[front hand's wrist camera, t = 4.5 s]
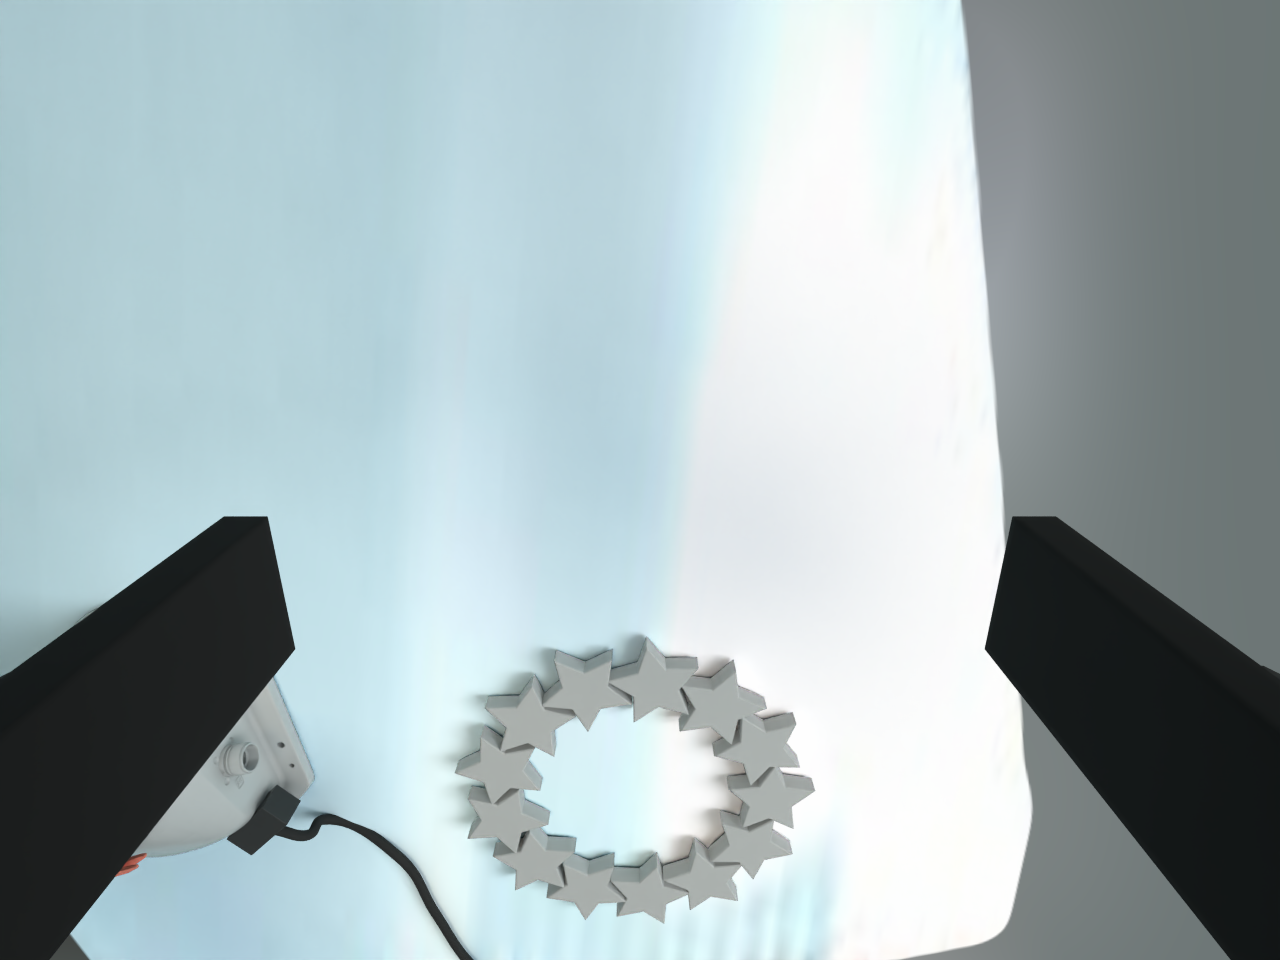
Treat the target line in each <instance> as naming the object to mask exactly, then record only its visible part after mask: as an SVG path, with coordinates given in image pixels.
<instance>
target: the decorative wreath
mask: <svg viewBox="0 0 1280 960" xmlns="http://www.w3.org/2000/svg"><path fill="white" fill-rule="evenodd" d="M612 653H613V649H611V650H609V651H607V652H605V653H602V654H600V655H598V656H596V657H594V658H592V659H590V660H588V661H586V662H585V661H582V660H580V659H577V658H575V657H573V656H570V655H568V654H565V653H563V652H560V651H558V650H556V654H555V659H554V662H555V666H556V669H557V673H558V676H559V681H558V682H556V683H555V684H554V685H553V686H552V687H551V688H550V689H549V690H548V691H546V692H545V693H544V692H543V689H542V687H541V685H540V683H539V681H538V679H537V677H536V675H535V674H534V676H533V677H532V678H531V680H530V681H529V683H528V684H527V685H526V687H525V688H524V689H523V691H522V692H521V694H520V695H519V696H488V699H487V702H486V705H485V709H486V710H487V711H488V712H489V713H491V714H492V715H493V716H494V717H495V718H496V719H497V720H498V721H499V722H500V723H501V724H502V725H504V726H505V727H506V730H505V733H504V737H501V736H500V735H498V734H497V733H496V732H494V731H493V730H491V729H490V728H488V727H487V726H485V725H484V727H483V730H482V733H481V737H480V751H478V752H476V753H474V754H471V755H469V756H467V757H465V758H463V759H461V760H459V762H458V765H457V768H456V771H455V773H456V774H459V775H462V776H465V777H468V778H471V779H474V780H477V781H480V782H484V785H485V788H486V789H485V788H480V787H475V786H471V790H470V793H469V796H468V800H469V802H470V803H471V805H472V806H473V808H474V809H475V811H476V813H477V814H478V817H477V818H476V819H475V821H474V822H473V823H472V825H471V828H470V831H469V835H468V839H471V838H488V837H497V838H498V839H499V840H501V842H496V845H495V849H494V853H493V857H494V858H496V859H498V860H500V861H501V862H503V863H505V864H506V865H508V866H510V867H512V868H513V869H515V870H516V883H515V890H517V889H519V888H522V887H524V886H526V885H528V884H530V883H532V882H534V881H537V880H540V881H544V882H547V883H548V891H547V898H550V899H556V900H563V901H569V902H574V903H575V904H576V906H577V908H578V909H579V911H580V912H581V914H582V916H583V917H584V919H585V920H586V919H587V918H588V916H589V915H590V914H591V913H592V911H593V910H594V909H595V907H596V906H597V905H598V904H599V903H616V902H617V916H623V915H628V914H633V913H638V912H643V911H644V912H645V913H647V914H649V915H650V916H652V917H654V918H655V919H657V920H659V921H660V922H662V923H664V921H665V910H666V904H668V903H670V902H672V901H674V900H677V899H679V898H681V897H683V896H686V895H688V897H689V906H690V910H691V909H693V908H694V907H696V906H697V905H699V904H700V903H702V902H703V901H705V900H706V899H708V898H709V897H716V898H723V899H729V900H735V901H738V897H737V890H736V886H735V884H734V882H733V880H732V879H731V877H732V876H733V875H734V874H735V873H736V872H737V870H738V869H739V868H740V867H741V866H742V867H743V868H744V869H745V870H746V871H747V873H748V874H749V875H750V876H751V877H752V879H754V877H755V875H756V874H757V872H758V870H759V868H760V867H761V865H762V863H763V861H764V860H766V859H771V858H776V857H781V856H786V855H791V854H792V849H791V845H790V841H789V840H788V839H786V838H785V837H783V836H782V835H780V834H778V833H777V832H775V831H773V823H774V821H776V822H779V823H781V824H783V825H786V826H788V827H790V828H793V816H792V806H793V805H795V804H796V803H798V802H799V801H801V800H802V799H804V798H805V797H807V796H808V795H810V794H811V793H813V792H814V791H815V789H814V786H813V782H812V779H811V778H808V777H800V776H793V775H785V774H782V772H781V770H780V768H779V767H800V766H799V762H798V759H797V755H796V754H795V753H794V751H793V750H792V749H791V748H790V746H789V745H788V744H787V741H788V739H789V737H790V735H791V733H792V731H793V729H794V728H795V726H796V721H795V718H794V715H793V712H791V713H787V714H784V715H780V716H776V717H772V718H768V719H764V720H762V719H761V718H759V717H758V716H756V715H755V714H754V713H757V712H759V711H762V710H764V709H767V707H766V703H765V700H764V697H763V696H761V695H758V694H756V693H754V692H751V691H749V690H746V689H744V688H742V687H739V686H738V684H737V676H736V669H735V664H734V660H732V661H731V662H730V663H729V664H727V665H726V666H725V667H724V668H722V669H721V670H720V671H719V672H718V673H716V674H715V675H714V676H713V677H712V678H704V677H697V676H692V675H693V674H694V673H695V672H696V670H697V669H698V661H697V657H684V658H665V657H664V656H663V655H662V653H661V652H660V651H659V650H658V649H657V648H656V646H655V645H654V644H653V643H652V642H651V641H650V639H649V638H648V637H647V636H646V639H645V642H644V645H643V648H642V650H641V653H640V656H639V659H638V662H636V663H632V664H628V665H625V666H621V667H618V668H614V669H611V663H612ZM682 689H683V690H684V692H685V693H686V695H687V697H688V698H689V700H690V703H689V705H688V702H687V700H686V697H685V695H684V692H683V690H682ZM632 696H633V707H634V722H635V721H637V720H639V719H640V718H642V717H643V716H645V715H647V714H648V713H650V712H651V711H653V710H655V709H656V708H658V707H661V708H665V709H669V710H673V711H677V712H680V713H683V714H682V715H681V717H680V718H679V729H680V731H686V730H693V729H701V728H708V727H711V728H712V729H713V730H715V731H716V732H717V733H718V734H719V735H721V736H722V737H723V738H722V739H720V740H718V741H716V742H714V743H712V745H713V752H714V756H716V757H720V758H724V759H728V760H731V761H735V762H739V763H743V766H744V769H745V772H746V775H738V776H728V777H727V781H728V787H729V790H730V791H731V792H732V793H734V794H735V795H736V796H737V797H738V798H740V799H741V800H742V801H743V805H742V808H741V811H740V814H739V815H740V816H738V815H734V814H731V813H727V812H724V811H721V810H720V814H721V822H722V826H723V829H724V832H725V833H724V834H723V835H722V836H721V837H720V838H719V839H718V840H717V841H716V842H714V843H713V844H712V845H711V846H710V847H709V849H708V848H706V847H705V846H704V845H703V844H702V843H701V842H699V841H698V840H697V839H696V838H694V841H693V844H692V848H691V851H690V854H689V858H686V859H683V860H680V861H677V862H674V863H671V864H667V865H664V866H663V870H662V867H661V864H660V861H659V858H658V855H657V852H656V853H655V854H654V855H653V856H652V857H651V858H650V859H649V860H648V861H647V862H646V863H644V864H643V865H642V866H641V867H640V868H627V867H614V853H611V854H608V855H605V856H602V857H599V858H596V859H593V860H590V861H589V860H587V859H584V858H582V857H580V856H578V855H575V854H573V853H574V852H575V846H576V838H571V837H552V836H547V835H546V833H545V832H544V831H543V830H542V829H541V828H540V827H542V826H546V825H548V823H549V816H550V811H549V810H547V809H544V808H542V807H540V806H538V805H536V804H533V803H531V802H529V801H527V800H525V797H524V790H523V789H527V790H538V791H540V789H541V784H542V776H541V775H540V774H539V773H538V771H537V770H536V769H535V768H534V767H533V765H532V764H531V763H530V762H529V758H530V756H531V754H532V752H533V750H534V748H535V747H536V748H538V749H540V750H542V751H544V752H546V753H548V754H550V755H552V756H554V755H555V749H556V738H555V729H557V728H559V727H560V726H562V725H563V724H565V723H566V722H568V721H569V720H571V719H572V718H574V717H575V716H576V715H577V717H578V718H579V720H580V721H581V723H582V724H583V725H584V727H585V728H586V730H587V731H589V729H590V727H591V725H592V724H593V722H594V720H595V718H596V716H597V714H598V713H599V711H600V709H602V708H609V707H616V706H623V705H630V704H632ZM737 721H738V730H736V731H735V729H736V725H737ZM793 829H794V828H793ZM525 831H526V832H525ZM522 832H525V835H524V837H523V838H520V837H521V833H522ZM562 863H563V864H562ZM563 865H564V866H563Z"/></svg>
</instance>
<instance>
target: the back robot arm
mask: <svg viewBox="0 0 1280 960" xmlns="http://www.w3.org/2000/svg"><path fill="white" fill-rule="evenodd" d="M97 609H98V608H97ZM95 610H96V609H95ZM95 610H93V611H91V612H89V613H88V614H86V615H85V616H83V617H82V618H81V619H80V620H79V621H78V622H80V621H81V620H83V619H84V618H85V617H87V616H88V615H89V614H91V613H92V612H94V611H95ZM78 622H77V623H78ZM77 623H76V624H77ZM76 624H75V625H76ZM314 779H315V776H314V773H313V770H312V767H311V765H310V763H309V760H308V758H307V755H306V753H305V751H304V748H303V746H302V744H301V741H300V739H299V737H298V734H297V732H296V729H295V727H294V725H293V722H292V720H291V718H290V715H289V713H288V711H287V708H286V706H285V703H284V701H283V699H282V696H281V694H280V692H279V689H278V687H277V685H276V682H275V680H274V678H272V679H271V680H270V682H269V683H268V684H267V685H266V687H265V688H264V689H263V690H262V692H261V693H260V694H259V695H258V697H257V698H256V699H255V701H254V702H253V703H252V704H251V706H250V707H249V708H248V709H247V711H246V712H245V713H244V714H243V716H242V717H241V718H240V719H239V721H238V722H237V723H236V725H235V726H234V727H233V728H232V730H231V731H230V732H229V733H228V735H227V736H226V737H225V738H224V740H223V741H222V742H221V743H220V745H219V746H218V747H217V749H216V750H215V751H214V752H213V754H212V755H211V756H210V757H209V759H208V760H207V761H206V762H205V764H204V765H203V766H202V767H201V769H200V770H199V771H198V773H197V774H196V775H195V776H194V778H193V779H192V780H191V781H190V783H189V784H188V785H187V786H186V788H185V789H184V790H183V791H182V793H181V794H180V795H179V797H178V798H177V799H176V800H175V802H174V803H173V804H172V805H171V807H170V808H169V809H168V810H167V812H166V813H165V814H164V815H163V817H162V818H161V819H160V821H159V822H158V823H157V824H156V826H155V827H154V828H153V829H152V831H151V832H150V833H149V834H148V836H147V837H146V838H145V839H144V841H143V842H142V843H141V845H140V846H139V847H138V848H137V850H136V851H135V852H134V853H133V855H132V857H130V858H129V860H128V861H127V862H126V863H125V865H124V866H123V867H122V869H121V870H120V871H119V872H118V874H117V875H116V876H119V875H122V874H126V873H129V872H130V871H132V870H134V869H136V868H138V866H139V865H138V864H137V863H138V862H139V861H141V860H142V859H144V858H145V857H165V856H173V855H177V854H182V853H186V852H190V851H194V850H197V849H200V848H203V847H206V846H209V845H211V844H213V843H216V842H218V841H220V840H222V839H224V838H226V837H228V836H229V837H228V838H227V840H228V841H230V842H232V843H233V844H235V845H236V846H238V847H239V848H241V849H242V850H244V851H245V852H247V853H249V854H250V855H252V854H254V853H255V852H256V851H257V850H258V849H259V848H261V847H262V846H263V845H264V844H265V843H266V842H267V841H269V840H270V839H271V838H272V837H273V836H274V835H277V836H281V837H284V838H288V839H291V840H295V841H307V840H310V839H312V838H314V837H315V836H316V835H317V834H318V832H319V829H320V827H321V825H328V824H331V825H339V826H343V827H346V828H349V829H351V830H353V831H355V832H357V833H359V834H361V835H362V836H364V837H366V838H367V839H369V840H370V841H371V842H373V843H374V844H375V845H377V846H378V847H379V848H380V849H382V850H383V851H384V852H385V853H386V854H388V855H389V856H390V857H391V858H392V859H394V860H395V861H396V862H397V863H398V864H399V865H400V866H401V867H402V868H403V869H404V870H405V871H406V872H407V873H408V875H409V876H410V877H411V879H412V880H413V882H414V884H415V886H416V887H417V889H418V891H419V894H420V896H421V898H422V900H423V902H424V904H425V906H426V908H427V909H428V911H429V913H430V914H431V916H432V917H433V919H434V920H435V922H436V924H437V925H438V927H439V928H440V930H441V932H442V933H443V935H444V936H445V938H446V940H447V941H448V943H449V945H450V946H451V948H452V949H453V951H454V952H455V953H456V955H457V956H458V957H459V959H460V960H473V959H472V958H471V957H470V955H469V954H468V953H467V952H466V951H465V949H464V948H463V947H462V945H461V944H460V943H459V941H458V940H457V938H456V936H455V935H454V933H453V932H452V930H451V928H450V927H449V925H448V923H447V922H446V920H445V918H444V917H443V915H442V914H441V912H440V911H439V909H438V907H437V906H436V904H435V902H434V901H433V899H432V897H431V895H430V893H429V891H428V888H427V886H426V884H425V882H424V880H423V878H422V877H421V875H420V873H419V872H418V870H417V869H416V867H415V866H414V865H413V863H412V862H411V861H410V860H409V859H408V858H407V857H406V856H405V855H404V854H403V853H402V852H400V851H399V850H398V849H397V848H396V847H394V846H393V845H392V844H391V843H390V842H388V841H387V840H386V839H385V838H384V837H382V836H381V835H379V834H378V833H376V832H375V831H373V830H370V829H368V828H366V827H363V826H360V825H358V824H355V823H352V822H350V821H348V820H345V819H343V818H341V817H338V816H336V815H332V814H326V815H320V816H318V817H317V818H315V819H314V821H313V822H312V824H311V827H310V829H309V830H296V829H293V828H290V827H286V825H287V824H288V822H289V820H290V819H291V817H292V815H293V813H294V812H295V810H296V808H297V806H298V805H299V803H300V800H299V799H300V798H301V797H302V796H303V794H304V793H305V792H306V791H307V789H308V788H309V787H310V785H311V784H312V783H313V781H314ZM116 876H115V877H116Z"/></svg>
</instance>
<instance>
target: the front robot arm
mask: <svg viewBox="0 0 1280 960" xmlns="http://www.w3.org/2000/svg"><path fill="white" fill-rule="evenodd" d="M294 650H295V645H294V641H293V636H292V631H291V626H290V621H289V617H288V612H287V607H286V602H285V598H284V593H283V588H282V583H281V579H280V574H279V569H278V564H277V559H276V555H275V550H274V545H273V540H272V536H271V531H270V526H269V521H268V517H223V518H221V519H220V520H219V521H217V522H216V523H214V524H213V525H212V526H210V527H209V528H208V529H206V530H205V531H203V532H202V533H201V534H199V535H198V536H197V537H195V538H194V539H192V540H191V541H190V542H188V543H187V544H186V545H184V546H183V547H181V548H180V549H179V550H177V551H176V552H175V553H173V554H172V555H170V556H169V557H168V558H166V559H165V560H164V561H162V562H161V563H160V564H158V565H157V566H155V567H154V568H153V569H151V570H150V571H149V572H147V573H146V574H144V575H143V576H142V577H140V578H139V579H138V580H136V581H135V582H133V583H132V584H131V585H129V586H128V587H127V588H125V589H124V590H122V591H121V592H120V593H118V594H117V595H116V596H114V597H113V598H111V599H110V600H109V601H107V602H106V603H105V604H103V605H102V606H100V607H99V608H98V609H96V610H95V611H94V612H92V613H91V614H89V615H88V616H87V617H85V618H84V619H83V620H81V621H80V622H78V623H77V624H76V625H74V626H73V627H72V628H70V629H69V630H67V631H66V632H65V633H63V634H62V635H61V636H59V637H58V638H57V639H55V640H54V641H52V642H51V643H50V644H48V645H47V646H46V647H44V648H43V649H41V650H40V651H39V652H37V653H36V654H35V655H33V656H32V657H30V658H29V659H28V660H26V661H25V662H24V663H22V664H21V665H19V666H18V667H17V668H15V669H14V670H13V671H11V672H9V673H7V674H5V675H3V676H1V677H0V960H49V959H50V958H51V957H52V956H53V954H54V953H55V952H56V951H57V949H58V948H59V947H60V945H61V944H62V943H63V942H64V940H65V939H66V938H67V937H68V935H69V934H70V933H71V932H72V930H73V929H74V928H75V927H76V925H77V924H78V923H79V922H80V920H81V919H82V918H83V917H84V915H85V914H86V913H87V911H88V910H89V909H90V908H91V906H92V905H93V904H94V903H95V901H96V900H97V899H98V898H99V896H100V895H101V894H102V893H103V891H104V890H105V889H106V887H107V886H108V885H109V884H110V882H111V881H112V880H113V879H114V877H115V876H116V875H117V874H118V872H119V871H120V870H121V869H122V867H123V866H124V865H125V863H126V862H127V861H128V860H129V858H130V857H131V856H132V855H133V853H134V852H135V851H136V850H137V848H138V847H139V846H140V845H141V843H142V842H143V841H144V839H145V838H146V837H147V836H148V834H149V833H150V832H151V831H152V829H153V828H154V827H155V826H156V824H157V823H158V822H159V821H160V819H161V818H162V817H163V815H164V814H165V813H166V812H167V810H168V809H169V808H170V807H171V805H172V804H173V803H174V802H175V800H176V799H177V798H178V797H179V795H180V794H181V793H182V791H183V790H184V789H185V788H186V786H187V785H188V784H189V783H190V781H191V780H192V779H193V778H194V776H195V775H196V774H197V773H198V771H199V770H200V769H201V767H202V766H203V765H204V764H205V762H206V761H207V760H208V759H209V757H210V756H211V755H212V754H213V752H214V751H215V750H216V749H217V747H218V746H219V745H220V743H221V742H222V741H223V740H224V738H225V737H226V736H227V735H228V733H229V732H230V731H231V730H232V728H233V727H234V726H235V725H236V723H237V722H238V721H239V719H240V718H241V717H242V716H243V714H244V713H245V712H246V711H247V709H248V708H249V707H250V706H251V704H252V703H253V702H254V701H255V699H256V698H257V697H258V695H259V694H260V693H261V692H262V690H263V689H264V688H265V687H266V685H267V684H268V683H269V682H270V680H271V679H272V678H273V677H274V675H275V674H276V673H277V671H278V670H279V669H280V668H281V666H282V665H283V664H284V663H285V661H286V660H287V659H288V658H289V656H290V655H291V654H292V653H293V651H294ZM985 650H986V651H987V653H988V654H989V655H990V656H991V658H992V659H993V660H994V661H995V663H996V664H997V665H998V666H999V668H1000V669H1001V670H1002V671H1003V673H1004V674H1005V675H1006V677H1007V678H1008V679H1009V680H1010V682H1011V683H1012V684H1013V685H1014V687H1015V688H1016V689H1017V690H1018V692H1019V693H1020V694H1021V695H1022V697H1023V698H1024V699H1025V700H1026V702H1027V703H1028V704H1029V706H1030V707H1031V708H1032V709H1033V711H1034V712H1035V713H1036V714H1037V716H1038V717H1039V718H1040V719H1041V721H1042V722H1043V723H1044V725H1045V726H1046V727H1047V728H1048V730H1049V731H1050V732H1051V733H1052V735H1053V736H1054V737H1055V738H1056V740H1057V741H1058V742H1059V743H1060V745H1061V746H1062V747H1063V749H1064V750H1065V751H1066V752H1067V754H1068V755H1069V756H1070V757H1071V759H1072V760H1073V761H1074V762H1075V764H1076V765H1077V766H1078V767H1079V769H1080V770H1081V771H1082V772H1083V774H1084V775H1085V776H1086V778H1087V779H1088V780H1089V781H1090V783H1091V784H1092V785H1093V786H1094V788H1095V789H1096V790H1097V791H1098V793H1099V794H1100V795H1101V796H1102V798H1103V799H1104V800H1105V802H1106V803H1107V804H1108V805H1109V807H1110V808H1111V809H1112V810H1113V812H1114V813H1115V814H1116V815H1117V817H1118V818H1119V819H1120V821H1121V822H1122V823H1123V824H1124V826H1125V827H1126V828H1127V829H1128V831H1129V832H1130V833H1131V834H1132V836H1133V837H1134V838H1135V839H1136V841H1137V842H1138V843H1139V844H1140V846H1141V847H1142V848H1143V849H1144V851H1145V852H1146V853H1147V855H1148V856H1149V857H1150V858H1151V860H1152V861H1153V862H1154V863H1155V865H1156V866H1157V867H1158V869H1159V870H1160V871H1161V872H1162V874H1163V875H1164V876H1165V877H1166V879H1167V880H1168V881H1169V882H1170V884H1171V885H1172V886H1173V887H1174V889H1175V890H1176V891H1177V893H1178V894H1179V895H1180V896H1181V898H1182V899H1183V900H1184V901H1185V903H1186V904H1187V905H1188V906H1189V908H1190V909H1191V910H1192V911H1193V913H1194V914H1195V915H1196V917H1197V918H1198V919H1199V920H1200V922H1201V923H1202V924H1203V925H1204V927H1205V928H1206V929H1207V930H1208V932H1209V933H1210V934H1211V935H1212V937H1213V938H1214V939H1215V941H1216V942H1217V943H1218V944H1219V946H1220V947H1221V948H1222V949H1223V951H1224V952H1225V953H1226V954H1227V956H1228V957H1229V958H1230V959H1231V960H1280V674H1279V673H1277V672H1275V671H1273V670H1271V669H1269V668H1267V667H1265V666H1260V665H1259V664H1258V663H1256V662H1255V661H1254V660H1252V659H1251V658H1250V657H1248V656H1247V655H1245V654H1244V653H1243V652H1241V651H1240V650H1239V649H1237V648H1236V647H1234V646H1233V645H1232V644H1230V643H1229V642H1228V641H1226V640H1225V639H1223V638H1222V637H1221V636H1219V635H1218V634H1217V633H1215V632H1214V631H1213V630H1211V629H1210V628H1208V627H1207V626H1206V625H1204V624H1203V623H1202V622H1200V621H1199V620H1197V619H1196V618H1195V617H1193V616H1192V615H1191V614H1189V613H1188V612H1186V611H1185V610H1184V609H1182V608H1181V607H1180V606H1178V605H1177V604H1175V603H1174V602H1173V601H1171V600H1170V599H1169V598H1167V597H1166V596H1164V595H1163V594H1162V593H1160V592H1159V591H1158V590H1156V589H1155V588H1153V587H1152V586H1151V585H1149V584H1148V583H1147V582H1145V581H1144V580H1142V579H1141V578H1140V577H1138V576H1137V575H1136V574H1134V573H1133V572H1131V571H1130V570H1129V569H1127V568H1126V567H1125V566H1123V565H1122V564H1120V563H1119V562H1118V561H1116V560H1115V559H1114V558H1112V557H1111V556H1110V555H1108V554H1107V553H1105V552H1104V551H1103V550H1101V549H1100V548H1098V547H1097V546H1096V545H1094V544H1093V543H1092V542H1090V541H1089V540H1088V539H1086V538H1085V537H1083V536H1082V535H1081V534H1079V533H1078V532H1077V531H1075V530H1074V529H1072V528H1071V527H1070V526H1068V525H1067V524H1066V523H1064V522H1063V521H1061V520H1060V519H1059V518H1057V517H1012V522H1011V526H1010V531H1009V536H1008V540H1007V545H1006V550H1005V555H1004V559H1003V564H1002V569H1001V574H1000V579H999V583H998V588H997V593H996V598H995V602H994V607H993V612H992V617H991V621H990V626H989V631H988V636H987V641H986V645H985Z"/></svg>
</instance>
